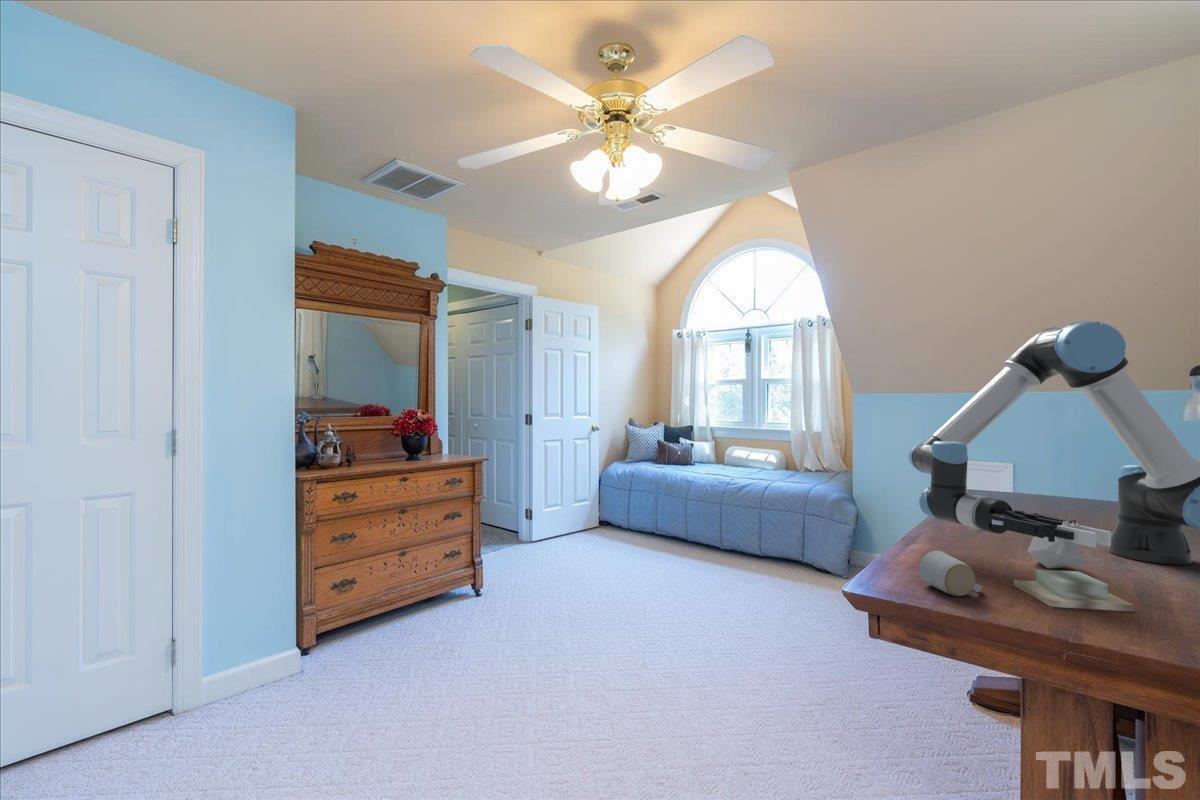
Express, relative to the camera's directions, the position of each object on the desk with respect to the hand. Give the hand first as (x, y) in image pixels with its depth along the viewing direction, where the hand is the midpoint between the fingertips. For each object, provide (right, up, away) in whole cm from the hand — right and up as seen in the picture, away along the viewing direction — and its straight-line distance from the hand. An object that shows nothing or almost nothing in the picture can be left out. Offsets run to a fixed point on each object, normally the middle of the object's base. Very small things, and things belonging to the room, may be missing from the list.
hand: (1102, 539), depth 107 cm
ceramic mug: (-23, -13, +9) cm, 28 cm away
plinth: (-2, -13, +5) cm, 14 cm away
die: (+12, -13, +27) cm, 32 cm away
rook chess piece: (-2, -6, +5) cm, 8 cm away
